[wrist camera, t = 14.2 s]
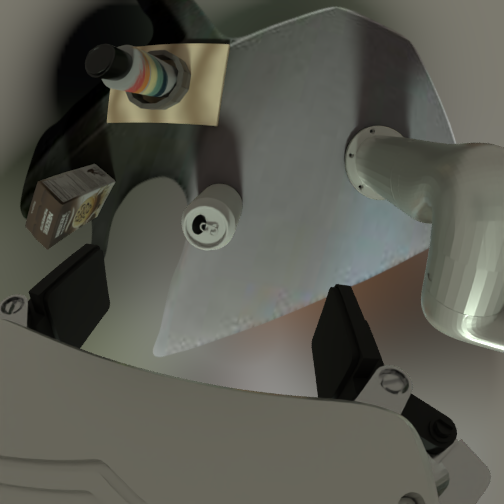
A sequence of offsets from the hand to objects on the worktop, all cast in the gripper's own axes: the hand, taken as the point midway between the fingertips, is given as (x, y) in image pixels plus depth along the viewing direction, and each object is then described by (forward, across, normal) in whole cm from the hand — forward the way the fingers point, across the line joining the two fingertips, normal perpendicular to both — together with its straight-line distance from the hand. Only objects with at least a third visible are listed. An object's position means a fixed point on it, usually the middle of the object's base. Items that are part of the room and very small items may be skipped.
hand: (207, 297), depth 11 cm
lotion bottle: (+35, +16, -13) cm, 41 cm away
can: (+36, +5, +7) cm, 38 cm away
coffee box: (+36, +30, +7) cm, 48 cm away
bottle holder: (+36, +17, -13) cm, 42 cm away
